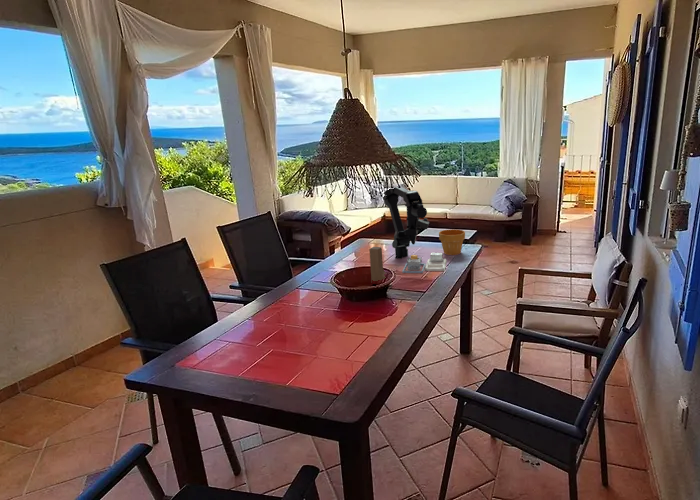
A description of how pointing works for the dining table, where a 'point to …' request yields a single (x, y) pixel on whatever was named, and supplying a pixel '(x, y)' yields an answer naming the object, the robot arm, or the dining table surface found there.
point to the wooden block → (376, 264)
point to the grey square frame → (418, 258)
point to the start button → (414, 257)
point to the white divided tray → (435, 265)
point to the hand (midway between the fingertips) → (413, 244)
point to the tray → (414, 271)
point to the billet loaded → (436, 257)
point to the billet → (414, 264)
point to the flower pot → (452, 241)
